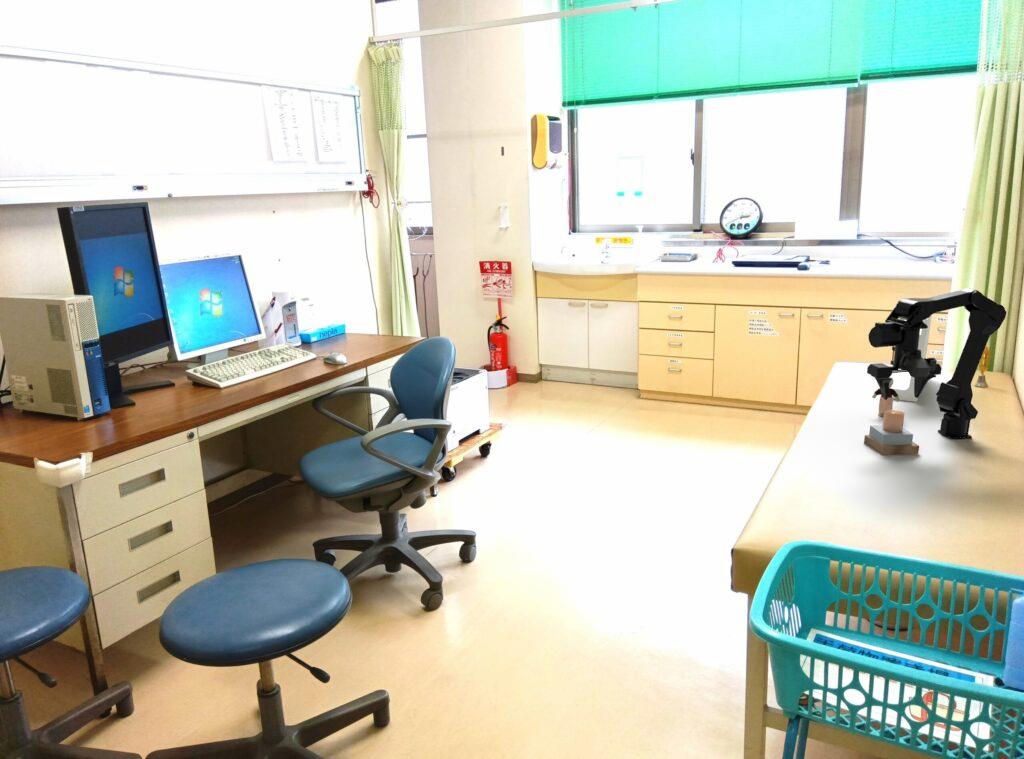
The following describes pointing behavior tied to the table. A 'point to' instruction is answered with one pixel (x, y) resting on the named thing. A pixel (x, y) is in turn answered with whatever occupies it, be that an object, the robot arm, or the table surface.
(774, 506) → the table surface
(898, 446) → the walnut base slab
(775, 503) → the table surface
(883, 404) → the grandmother figurine
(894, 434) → the grey top slab
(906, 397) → the white forked cradle stand
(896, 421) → the peach domed cylinder
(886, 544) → the table surface
